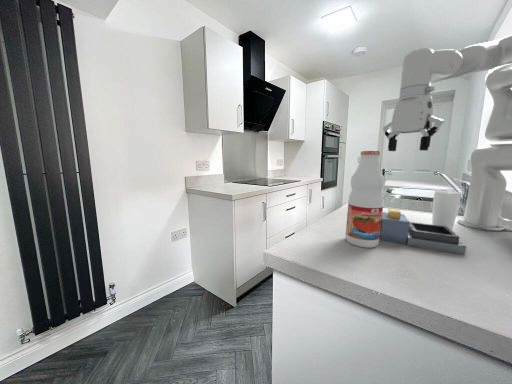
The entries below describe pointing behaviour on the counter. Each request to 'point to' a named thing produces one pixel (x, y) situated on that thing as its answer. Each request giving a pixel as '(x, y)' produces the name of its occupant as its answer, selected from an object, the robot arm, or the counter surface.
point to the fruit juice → (365, 202)
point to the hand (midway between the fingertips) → (406, 150)
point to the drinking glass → (445, 208)
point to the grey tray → (419, 234)
